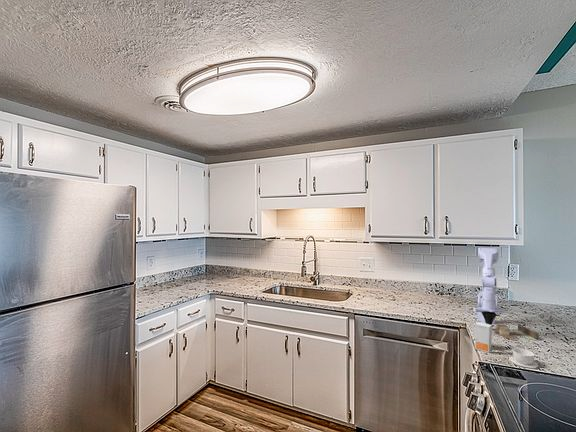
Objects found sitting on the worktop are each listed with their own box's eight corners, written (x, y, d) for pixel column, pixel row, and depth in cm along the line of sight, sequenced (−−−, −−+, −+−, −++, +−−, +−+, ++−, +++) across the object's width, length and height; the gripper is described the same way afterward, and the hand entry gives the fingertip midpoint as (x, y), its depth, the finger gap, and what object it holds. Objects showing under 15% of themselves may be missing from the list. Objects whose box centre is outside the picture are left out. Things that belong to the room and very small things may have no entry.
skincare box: (474, 349, 144) (474, 323, 144) (476, 346, 147) (477, 321, 147) (489, 353, 140) (489, 327, 140) (491, 350, 143) (492, 324, 143)
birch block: (496, 331, 162) (496, 324, 162) (504, 332, 162) (504, 324, 162) (500, 334, 158) (501, 327, 158) (509, 335, 158) (509, 327, 158)
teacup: (533, 371, 124) (533, 359, 124) (505, 361, 132) (505, 350, 132) (542, 364, 130) (542, 353, 130) (514, 355, 138) (514, 345, 138)
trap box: (489, 331, 167) (489, 322, 167) (518, 332, 166) (518, 323, 166) (506, 341, 153) (506, 332, 153) (537, 342, 152) (538, 333, 152)
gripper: (478, 301, 157) (478, 328, 157) (508, 302, 156) (508, 329, 156) (471, 298, 164) (471, 323, 164) (499, 298, 163) (499, 324, 163)
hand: (488, 326), depth 161 cm, fingers closed
